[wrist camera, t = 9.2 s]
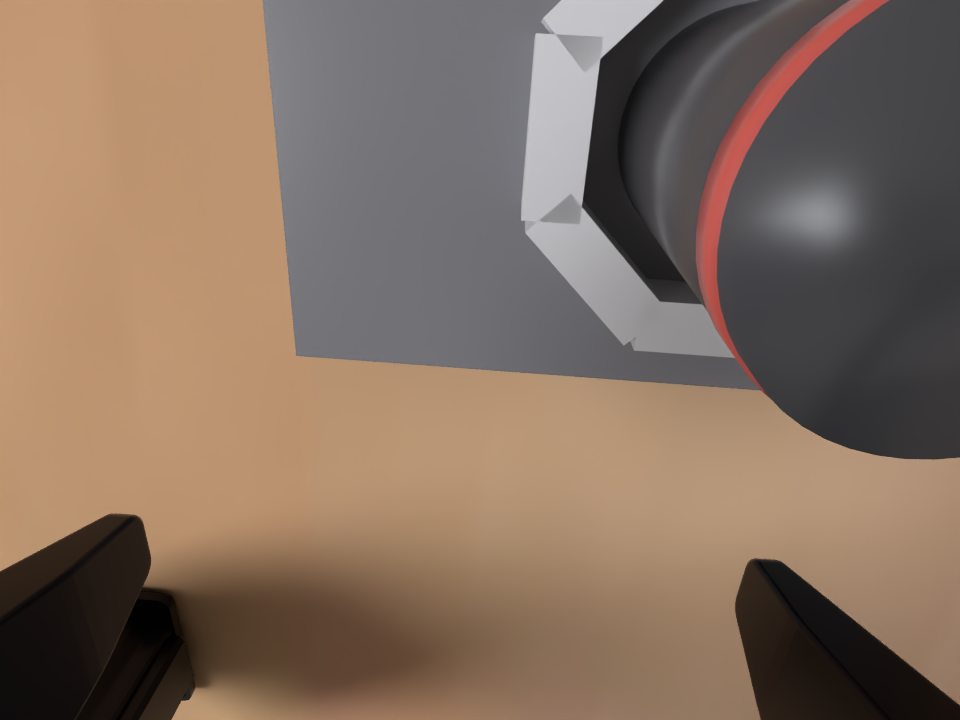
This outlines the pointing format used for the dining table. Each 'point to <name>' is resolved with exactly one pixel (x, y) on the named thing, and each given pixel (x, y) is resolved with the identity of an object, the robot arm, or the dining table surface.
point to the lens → (817, 205)
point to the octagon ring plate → (478, 188)
